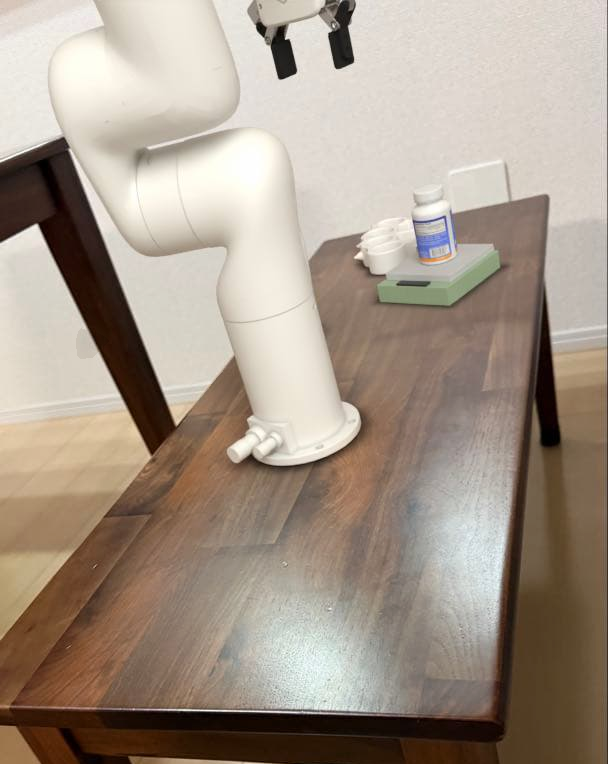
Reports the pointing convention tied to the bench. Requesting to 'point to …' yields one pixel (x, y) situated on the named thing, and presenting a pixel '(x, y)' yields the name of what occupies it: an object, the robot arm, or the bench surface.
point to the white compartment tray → (387, 244)
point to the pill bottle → (433, 225)
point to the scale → (439, 277)
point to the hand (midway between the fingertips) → (315, 71)
